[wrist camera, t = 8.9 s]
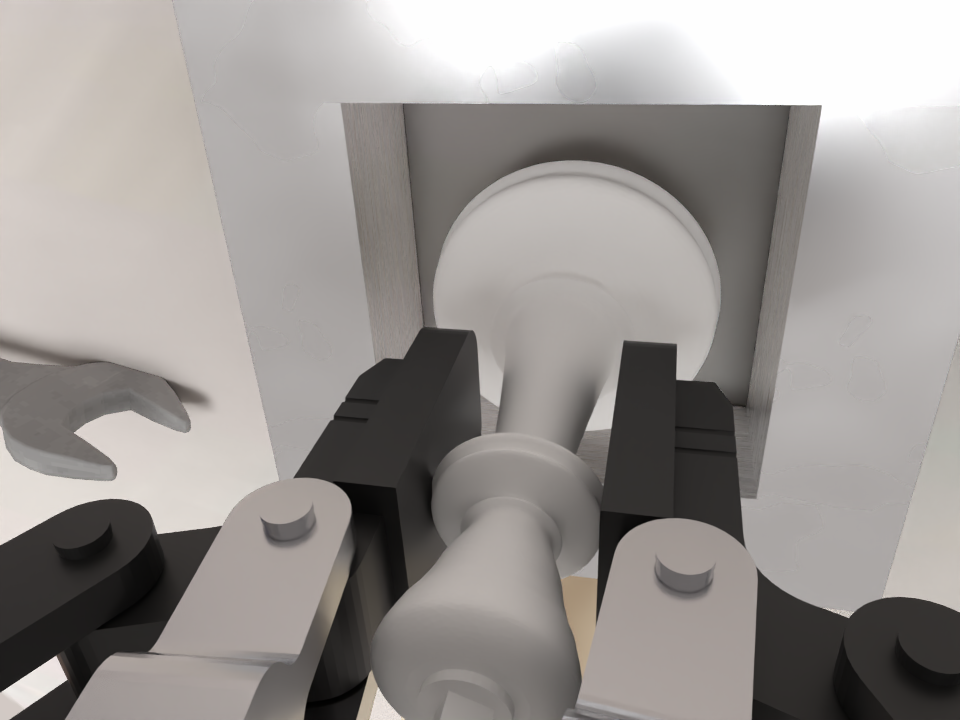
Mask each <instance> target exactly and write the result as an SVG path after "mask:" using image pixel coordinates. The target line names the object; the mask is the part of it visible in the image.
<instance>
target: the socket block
mask: <svg viewBox="0 0 960 720" xmlns="http://www.w3.org/2000/svg"><path fill="white" fill-rule="evenodd" d="M172 2H173V7H174V11H175V16H176V20H177V25H178V29H179V34H180V38H181V43H182V47H183V51H184V56H185V60H186V65H187V69H188V74H189V78H190V83H191V87H192V92H193V96H194V101H195V105H196V110H197V114H198V118H199V123H200V127H201V132H202V136H203V141H204V145H205V150H206V154H207V159H208V163H209V168H210V172H211V177H212V181H213V185H214V190H215V194H216V199H217V203H218V208H219V212H220V217H221V221H222V226H223V230H224V235H225V239H226V244H227V248H228V252H229V257H230V261H231V266H232V270H233V275H234V279H235V284H236V288H237V293H238V297H239V302H240V306H241V311H242V315H243V319H244V324H245V328H246V333H247V337H248V342H249V346H250V351H251V355H252V360H253V364H254V369H255V373H256V378H257V382H258V386H259V391H260V395H261V400H262V404H263V409H264V413H265V418H266V422H267V427H268V431H269V436H270V440H271V445H272V449H273V453H274V458H275V462H276V467H277V471H278V476H279V480H280V481H281V480H286V479H293V477H294V476H295V474H296V473H297V471H298V470H299V468H300V467H301V465H302V464H303V462H304V460H305V459H306V457H307V456H308V454H309V453H310V451H311V450H312V448H313V447H314V445H315V443H316V442H317V440H318V439H319V437H320V436H321V434H322V433H323V431H324V429H325V428H326V426H327V425H328V423H329V422H330V420H333V418H334V414H335V412H336V411H337V409H338V408H339V406H340V405H341V403H342V402H345V397H346V395H347V394H348V392H349V391H350V389H351V388H352V386H353V385H354V383H355V381H356V380H357V378H358V377H359V376H360V375H361V374H362V373H364V372H365V371H367V370H368V369H370V368H371V367H373V366H374V365H376V364H377V363H378V362H380V361H381V360H383V359H384V358H392V359H404V357H405V355H406V353H407V352H408V350H409V348H410V346H411V345H412V343H413V341H414V339H415V338H416V336H417V334H418V333H419V331H420V330H421V328H423V327H424V326H423V315H422V304H421V294H420V283H419V273H418V262H417V252H416V241H415V231H414V220H413V209H412V199H411V188H410V178H409V167H408V157H407V146H406V135H405V125H404V114H403V104H402V103H459V104H684V105H791V108H790V115H789V122H788V128H787V135H786V142H785V149H784V155H783V162H782V169H781V176H780V183H779V189H778V196H777V203H776V210H775V216H774V223H773V230H772V237H771V244H770V250H769V257H768V264H767V271H766V278H765V284H764V291H763V298H762V305H761V311H760V318H759V325H758V332H757V339H756V345H755V352H754V359H753V366H752V372H751V379H750V386H749V393H748V400H747V406H746V407H741V406H733V413H734V425H735V437H736V449H737V455H736V458H737V461H738V474H739V486H740V498H741V510H742V522H743V534H744V542H745V547H746V549H747V551H748V552H749V554H750V555H751V557H752V559H753V561H754V563H755V566H756V567H757V568H758V569H759V570H760V572H761V573H762V574H763V575H764V576H765V577H766V578H768V579H769V580H770V581H771V582H772V583H773V584H775V585H776V586H778V587H779V588H780V589H782V590H783V591H785V592H787V593H788V594H790V595H792V596H794V597H796V598H798V599H800V600H802V601H805V602H807V603H809V604H812V605H815V606H817V607H823V608H831V609H838V610H846V611H854V612H855V611H856V610H857V609H858V608H860V607H862V606H863V605H865V604H867V603H869V602H872V601H875V600H878V599H882V596H883V592H884V589H885V586H886V582H887V579H888V575H889V572H890V569H891V565H892V562H893V558H894V555H895V552H896V548H897V545H898V541H899V538H900V535H901V531H902V528H903V525H904V521H905V518H906V514H907V511H908V508H909V504H910V501H911V497H912V494H913V491H914V487H915V484H916V480H917V477H918V474H919V470H920V467H921V463H922V460H923V457H924V453H925V450H926V446H927V443H928V440H929V436H930V433H931V430H932V426H933V423H934V419H935V416H936V413H937V409H938V406H939V402H940V399H941V396H942V392H943V389H944V385H945V382H946V379H947V375H948V372H949V368H950V365H951V362H952V358H953V355H954V351H955V348H956V345H957V341H958V338H959V335H960V0H172ZM480 400H481V418H482V430H481V436H482V435H486V434H494V433H495V432H496V427H497V420H498V412H499V407H497V406H496V405H494V404H493V403H491V402H490V401H488V400H487V399H486V398H484V397H483V396H482V395H481V394H480ZM610 435H611V428H610V429H603V430H595V431H585V432H584V435H583V438H582V440H581V442H580V445H579V447H578V450H577V453H576V456H578V457H579V458H580V459H581V460H582V461H584V462H585V463H586V464H587V465H588V466H589V467H590V468H591V469H592V471H593V472H594V473H595V474H596V476H597V477H598V479H599V480H600V482H601V483H602V485H603V486H604V479H605V471H606V464H607V457H608V449H609V442H610ZM447 547H448V546H447ZM447 547H446V548H447ZM598 552H599V549H598V550H597V552H596V554H595V556H594V557H593V558H592V559H591V561H590V562H589V563H588V564H587V565H586V566H584V567H583V568H582V569H581V570H579V571H578V572H576V573H574V574H572V575H570V576H578V577H586V578H594V579H597V578H598Z"/></svg>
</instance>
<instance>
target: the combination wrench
mask: <svg viewBox="0 0 960 720" xmlns="http://www.w3.org/2000/svg"><path fill="white" fill-rule="evenodd" d="M128 410H132V411H134V412H136V413H138V414H140V415H142V416H144V417H146V418H148V419H150V420H152V421H154V422H156V423H159V424H161V425H164V426H166V427H169V428H171V429H173V430H176V431H180V432H183V433H186V432H189V431H190V429H191V423H190V419H189V416H188V414H187V412H186V410H185V408H184V407H183V405H182V403H181V402H180V400H179V398H178V397H177V395H176V393H175V392H174V391H173V389H172V388H171V387H170V386H169V384H168V383H167V382H166V381H165V379H163V378H162V377H159V376H156V375H152V374H149V373H145V372H141V371H138V370H134V369H131V368H127V367H124V366H120V365H117V364H113V363H110V362H99V363H89V364H83V365H79V366H76V367H70V366H55V365H40V364H29V363H19V362H11V361H8V360H5V359H1V358H0V426H1V427H2V430H3V435H4V440H5V444H6V448H7V450H8V451H9V453H10V454H11V456H12V457H13V459H14V460H15V461H16V462H18V463H20V464H22V465H23V466H25V467H27V468H29V469H31V470H34V471H37V472H40V473H42V474H45V475H51V476H58V477H65V478H72V479H84V480H97V481H112V480H114V479H115V478H116V476H117V467H116V465H115V464H114V463H113V462H112V461H111V459H110V458H109V457H107V456H106V455H104V454H103V453H102V452H100V451H99V450H98V449H96V448H95V447H93V446H92V445H91V444H89V443H88V442H86V441H85V440H83V439H82V438H80V437H79V436H77V435H76V434H74V432H75V431H76V430H78V429H79V428H80V427H82V426H83V425H84V424H86V423H88V422H90V421H92V420H94V419H96V418H99V417H101V416H103V415H106V414H111V413H117V412H122V411H128Z"/></svg>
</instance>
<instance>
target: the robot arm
mask: <svg viewBox="0 0 960 720" xmlns="http://www.w3.org/2000/svg"><path fill="white" fill-rule="evenodd" d="M676 370H677V344H673V343H658V342H642V341H627V340H624V341H623V348H622V355H621V362H620V370H619V377H618V384H617V391H616V399H615V406H614V413H613V420H612V428H611V435H610V442H609V449H608V457H607V464H606V471H605V479H604V486H603V493H602V500H601V508H600V526H599V552H598V578H597V604H596V628H595V632H594V636H593V640H592V644H591V648H590V652H589V656H588V660H587V664H586V668H585V672H584V676H583V680H582V684H581V688H580V691H579V695H578V699H577V702H576V705H575V708H574V709H571V708H568V709H567V710H566V711H565V713H564V715H563V718H562V720H960V612H957V611H955V610H953V609H950V608H948V607H946V606H943V605H940V604H937V603H933V602H930V601H926V600H921V599H916V598H906V597H891V598H883V599H878V600H875V601H872V602H869V603H867V604H865V605H863V606H862V607H860V608H858V609H857V610H856V611H855V612H854V613H853V614H852V615H851V616H850V618H847V617H844V616H841V615H839V614H836V613H833V612H831V611H828V610H825V609H823V608H820V607H817V606H815V605H812V604H809V603H807V602H805V601H802V600H800V599H798V598H796V597H794V596H792V595H790V594H788V593H787V592H785V591H783V590H782V589H780V588H779V587H778V586H776V585H775V584H773V583H772V582H771V581H770V580H769V579H768V578H766V577H765V576H764V575H763V574H762V573H761V572H760V570H759V569H758V568H757V567H756V566H755V563H754V561H753V559H752V557H751V555H750V554H749V552H748V551H747V549H746V547H745V542H744V534H743V522H742V510H741V498H740V486H739V474H738V461H737V458H736V455H737V449H736V437H735V425H734V413H733V405H732V404H731V403H730V401H729V400H728V399H727V398H726V396H725V395H724V394H723V393H722V391H721V390H720V389H719V387H718V386H717V385H716V384H715V383H713V382H699V381H686V380H676ZM481 430H482V418H481V400H480V382H479V364H478V347H477V339H476V335H475V332H474V331H473V330H461V329H446V328H430V327H423V328H421V330H420V331H419V333H418V334H417V336H416V338H415V339H414V341H413V343H412V345H411V346H410V348H409V350H408V352H407V353H406V355H405V357H404V359H392V358H384V359H383V360H381V361H380V362H378V363H377V364H376V365H374V366H373V367H371V368H370V369H368V370H367V371H365V372H364V373H362V374H361V375H360V376H359V377H358V378H357V380H356V381H355V383H354V385H353V386H352V388H351V389H350V391H349V392H348V394H347V395H346V397H345V402H342V403H341V405H340V406H339V408H338V409H337V411H336V412H335V414H334V418H333V420H330V422H329V423H328V425H327V426H326V428H325V429H324V431H323V433H322V434H321V436H320V437H319V439H318V440H317V442H316V443H315V445H314V447H313V448H312V450H311V451H310V453H309V454H308V456H307V457H306V459H305V460H304V462H303V464H302V465H301V467H300V468H299V470H298V471H297V473H296V474H295V476H294V477H293V479H286V480H281V481H277V482H274V483H271V484H268V485H266V486H263V487H261V488H259V489H257V490H255V491H254V492H252V493H250V494H249V495H247V496H246V497H245V498H243V499H242V500H241V501H240V502H239V503H238V504H237V505H236V506H235V507H234V508H233V509H232V511H231V512H230V514H229V515H228V517H227V519H226V520H225V522H224V524H223V526H218V527H212V528H205V529H197V530H189V531H181V532H173V533H164V534H157V532H156V529H155V526H154V523H153V520H152V517H151V515H150V513H149V512H148V511H147V510H146V509H145V508H144V507H143V506H141V505H140V504H138V503H135V502H132V501H128V500H122V499H106V500H98V501H93V502H88V503H85V504H81V505H78V506H75V507H73V508H70V509H68V510H65V511H63V512H61V513H59V514H57V515H55V516H53V517H52V518H50V519H48V520H46V521H44V522H43V523H41V524H39V525H37V526H35V527H33V528H32V529H30V530H28V531H26V532H24V533H22V534H21V535H19V536H17V537H15V538H13V539H11V540H10V541H8V542H6V543H4V544H2V545H0V692H2V691H3V690H5V689H6V688H8V687H9V686H11V685H12V684H14V683H15V682H17V681H18V680H20V679H21V678H23V677H24V676H26V675H27V674H29V673H30V672H32V671H33V670H35V669H36V668H38V667H39V666H41V665H42V664H44V663H46V662H47V661H49V660H50V659H52V658H53V657H55V656H57V658H58V660H59V662H60V664H61V667H62V669H63V671H64V673H65V675H66V677H67V679H68V680H67V681H65V682H64V683H62V684H61V685H59V686H58V687H57V688H55V689H54V690H52V691H51V692H49V693H48V694H46V695H45V696H43V697H42V698H41V699H39V700H38V701H36V702H35V703H33V704H32V705H30V706H29V707H27V708H26V709H24V710H23V711H22V712H20V713H19V714H17V715H16V716H14V717H13V718H12V719H10V720H369V718H370V715H371V711H372V707H373V703H374V699H375V696H376V692H377V688H378V685H377V683H376V681H375V678H374V676H373V672H372V668H371V661H370V650H371V644H372V640H373V637H374V634H375V632H376V630H377V628H378V626H379V624H380V623H381V621H382V620H383V618H384V617H385V615H386V614H387V613H388V612H389V610H390V609H391V608H392V607H393V606H394V604H395V603H396V602H397V601H398V600H399V599H400V598H401V597H402V595H403V594H404V593H405V592H406V591H407V590H408V589H409V588H410V587H411V586H413V585H414V584H415V583H417V582H418V581H419V580H420V579H421V578H422V577H423V576H424V575H425V574H426V573H427V572H428V571H429V570H430V569H431V568H432V567H433V566H434V564H435V563H436V562H437V560H438V559H439V557H440V556H441V554H442V553H443V552H444V551H445V549H446V547H447V545H446V544H445V542H444V541H443V540H442V538H441V537H440V535H439V533H438V531H437V529H436V527H435V524H434V521H433V517H432V511H431V500H432V480H433V476H434V473H435V471H436V469H437V467H438V465H439V464H440V462H441V461H442V460H443V458H444V457H445V456H446V455H447V454H448V453H449V452H450V451H451V450H453V449H454V448H455V447H457V446H458V445H460V444H462V443H464V442H466V441H468V440H470V439H472V438H475V437H479V436H481Z"/></svg>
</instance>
